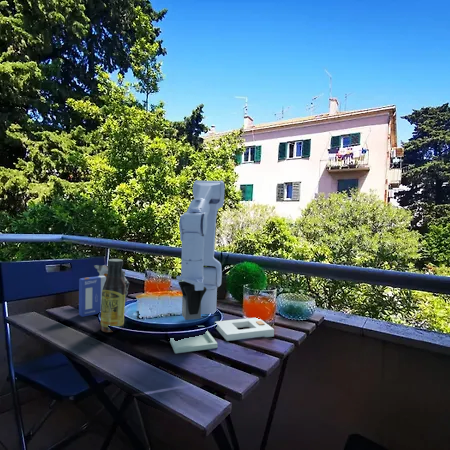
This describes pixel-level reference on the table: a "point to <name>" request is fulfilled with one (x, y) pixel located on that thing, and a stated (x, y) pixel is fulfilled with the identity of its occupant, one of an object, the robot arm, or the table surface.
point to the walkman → (90, 295)
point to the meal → (104, 272)
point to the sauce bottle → (113, 297)
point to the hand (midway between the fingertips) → (191, 311)
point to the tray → (194, 343)
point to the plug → (186, 312)
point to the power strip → (256, 329)
